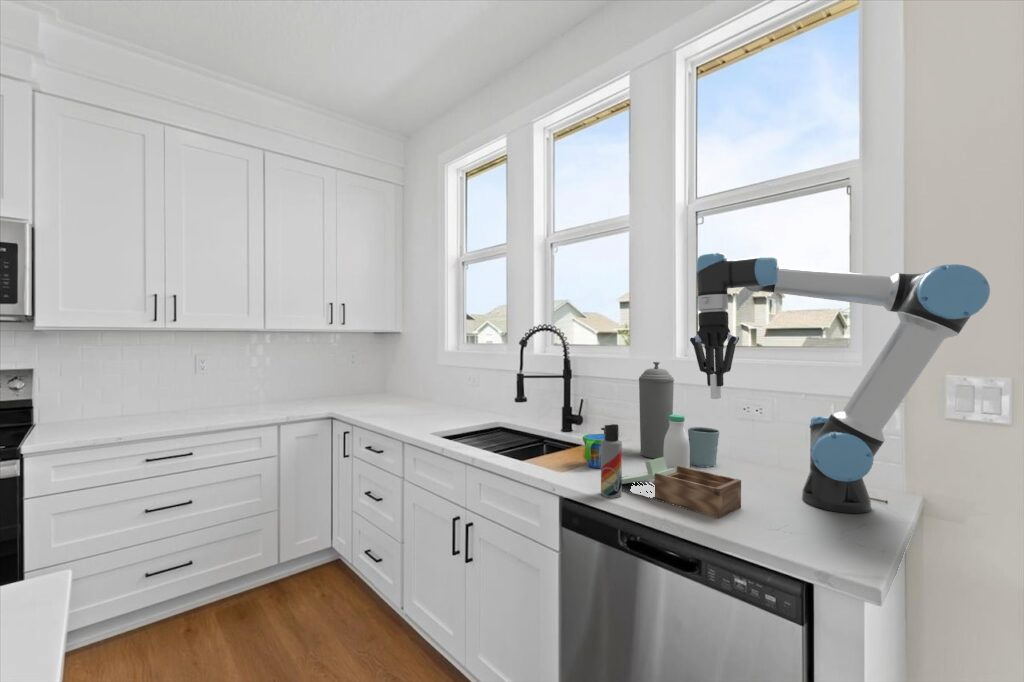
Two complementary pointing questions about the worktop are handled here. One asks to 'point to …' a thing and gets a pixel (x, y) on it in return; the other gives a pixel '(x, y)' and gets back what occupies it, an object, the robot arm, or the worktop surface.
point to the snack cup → (593, 449)
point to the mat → (628, 485)
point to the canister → (655, 410)
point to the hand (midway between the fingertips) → (715, 398)
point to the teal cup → (703, 446)
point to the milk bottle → (676, 444)
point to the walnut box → (699, 491)
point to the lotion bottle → (611, 463)
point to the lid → (650, 471)
